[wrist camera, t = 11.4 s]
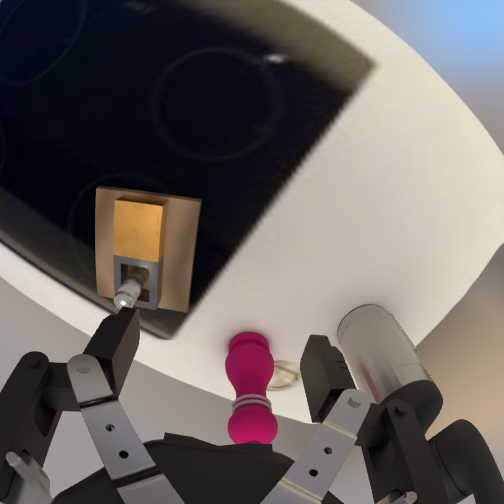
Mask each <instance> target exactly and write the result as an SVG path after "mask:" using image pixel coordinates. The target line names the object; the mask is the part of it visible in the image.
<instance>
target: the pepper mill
mask: <svg viewBox="0 0 504 504" xmlns="http://www.w3.org/2000/svg"><path fill="white" fill-rule="evenodd" d="M225 368H226V374H227V376H228V379H229V381H230V382H231V384H232V385H233V387H234V389H235V391H236V400H235V401H234V402H233V404H232V416H231V417H230V419H229V422H228V432H229V436H230V438H231V439H232V441H233V442H234V443H236V444H240V443H261V444H270V443H271V442H272V441H273V440H274V438H275V436H276V434H277V428H278V424H277V420H276V418H275V416H274V415H273V414H272V408H271V402H270V401H269V400H268V399H267V397H266V388H267V385H268V384H269V382H270V380H271V378H272V375H273V371H274V360H273V357H272V355H271V354H270V352H269V346H268V342H267V340H266V339H265V338H264V337H263V336H261V335H259V334H257V333H252V332H247V333H241V334H239V335H237V336H235V337H234V338H233V339H232V340H231V342H230V344H229V354H228V356H227V358H226V361H225Z"/></svg>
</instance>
